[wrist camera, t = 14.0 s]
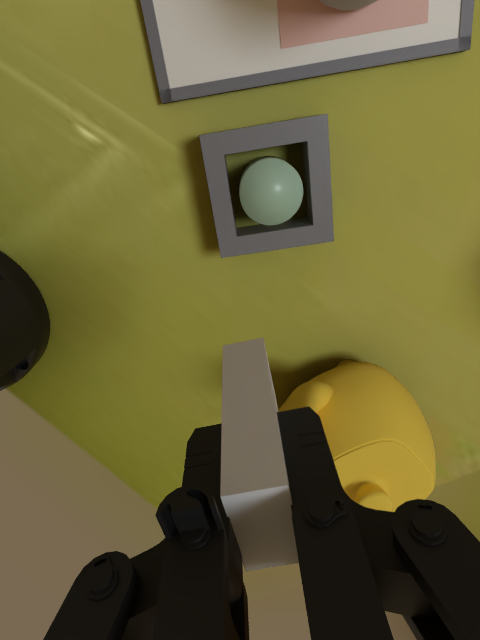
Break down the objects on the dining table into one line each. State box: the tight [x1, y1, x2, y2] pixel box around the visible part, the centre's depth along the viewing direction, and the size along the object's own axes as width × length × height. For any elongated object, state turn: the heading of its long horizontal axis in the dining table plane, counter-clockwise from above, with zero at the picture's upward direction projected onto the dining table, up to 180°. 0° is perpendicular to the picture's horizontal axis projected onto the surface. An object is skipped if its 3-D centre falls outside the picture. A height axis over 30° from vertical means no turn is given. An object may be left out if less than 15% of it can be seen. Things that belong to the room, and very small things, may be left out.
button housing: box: [199, 114, 334, 258], centre depth 31 cm, size 9×9×3 cm
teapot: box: [278, 360, 435, 512], centre depth 36 cm, size 14×20×13 cm
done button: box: [239, 156, 303, 225], centre depth 30 cm, size 5×5×3 cm
